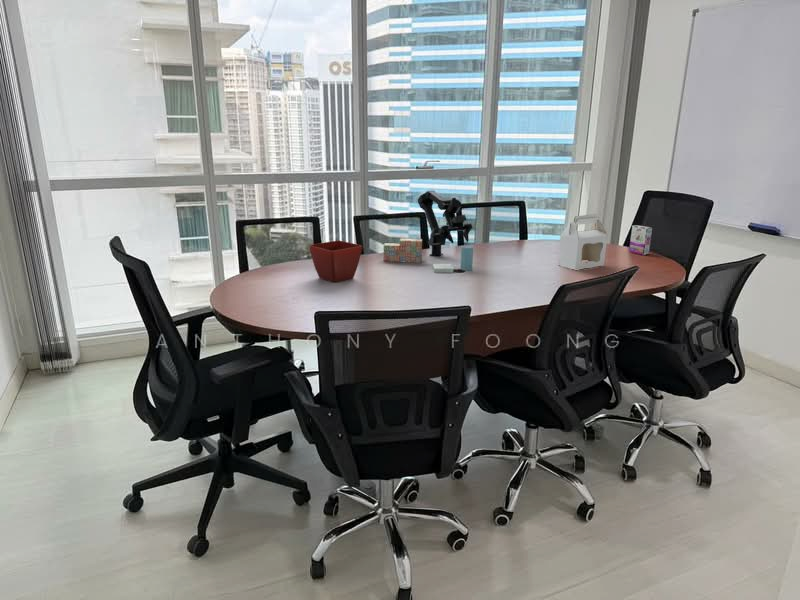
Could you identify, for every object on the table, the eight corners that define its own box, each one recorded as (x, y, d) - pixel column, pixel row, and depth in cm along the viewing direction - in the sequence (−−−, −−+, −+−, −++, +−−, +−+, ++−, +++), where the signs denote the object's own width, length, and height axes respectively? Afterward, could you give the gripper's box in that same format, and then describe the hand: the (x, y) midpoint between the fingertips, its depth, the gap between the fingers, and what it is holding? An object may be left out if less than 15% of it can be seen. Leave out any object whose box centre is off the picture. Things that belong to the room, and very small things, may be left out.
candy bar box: (649, 254, 342) (653, 227, 337) (643, 255, 340) (647, 228, 335) (634, 251, 352) (637, 224, 347) (628, 251, 349) (631, 225, 344)
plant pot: (339, 271, 300) (338, 239, 295) (363, 278, 287) (363, 245, 282) (309, 277, 287) (308, 244, 282) (333, 285, 274) (332, 251, 269)
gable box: (574, 271, 304) (580, 218, 296) (556, 265, 315) (561, 215, 307) (604, 266, 315) (610, 215, 306) (585, 261, 326) (591, 212, 317)
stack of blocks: (383, 261, 322) (383, 239, 318) (384, 258, 328) (384, 237, 324) (421, 262, 320) (421, 241, 316) (421, 260, 326) (422, 238, 322)
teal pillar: (460, 268, 308) (461, 246, 304) (467, 267, 309) (468, 245, 306) (464, 270, 304) (465, 248, 300) (472, 269, 306) (473, 247, 302)
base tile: (432, 267, 309) (432, 263, 308) (451, 267, 309) (451, 263, 309) (434, 272, 299) (434, 268, 299) (453, 272, 300) (453, 268, 299)
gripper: (441, 210, 305) (450, 234, 299) (471, 208, 312) (481, 232, 306) (434, 223, 314) (443, 246, 308) (463, 220, 322) (473, 244, 315)
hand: (460, 242), depth 309 cm, fingers open, 9 cm apart
